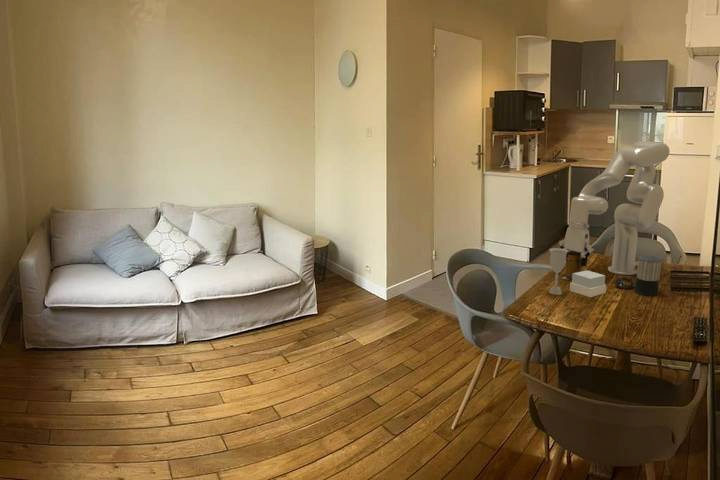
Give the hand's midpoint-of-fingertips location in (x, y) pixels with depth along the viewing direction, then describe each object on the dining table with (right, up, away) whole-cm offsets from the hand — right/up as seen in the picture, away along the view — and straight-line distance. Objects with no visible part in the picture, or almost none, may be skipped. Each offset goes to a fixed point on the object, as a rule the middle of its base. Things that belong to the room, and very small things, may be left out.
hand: (574, 263), depth 263 cm
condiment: (+1, -7, +2) cm, 7 cm away
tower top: (0, -8, -17) cm, 19 cm away
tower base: (0, -12, -16) cm, 20 cm away
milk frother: (+21, -11, -14) cm, 28 cm away
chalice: (-14, -12, -17) cm, 25 cm away
